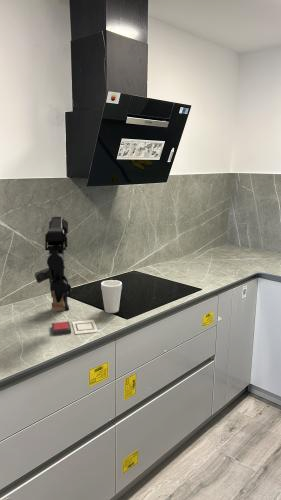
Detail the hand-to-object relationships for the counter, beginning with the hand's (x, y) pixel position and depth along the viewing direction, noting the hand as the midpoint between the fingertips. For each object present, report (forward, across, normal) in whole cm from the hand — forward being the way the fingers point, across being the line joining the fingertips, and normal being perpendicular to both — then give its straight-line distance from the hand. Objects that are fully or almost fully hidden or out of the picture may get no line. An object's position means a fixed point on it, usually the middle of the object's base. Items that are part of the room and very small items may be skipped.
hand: (58, 300), depth 156 cm
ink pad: (+12, 0, +1) cm, 13 cm away
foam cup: (+13, -16, +24) cm, 32 cm away
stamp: (+4, 0, 0) cm, 4 cm away
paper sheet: (+12, 0, +10) cm, 16 cm away
